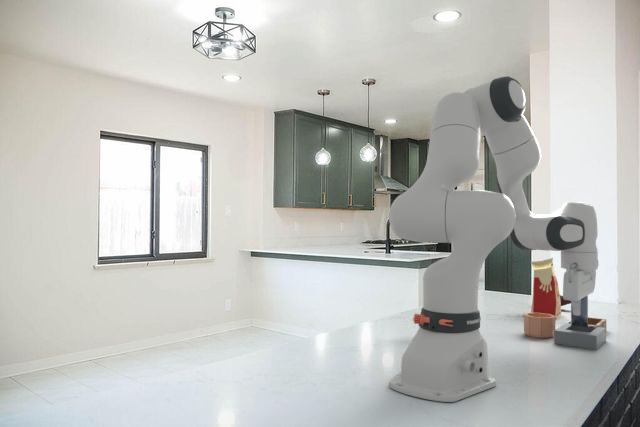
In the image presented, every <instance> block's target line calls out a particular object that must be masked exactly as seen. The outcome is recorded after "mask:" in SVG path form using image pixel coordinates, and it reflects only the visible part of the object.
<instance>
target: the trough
mask: <svg viewBox="0 0 640 427" xmlns="http://www.w3.org/2000/svg"><path fill="white" fill-rule="evenodd" d="M568 323H569V324H571V320H570V321H569V322H568ZM588 325H594V326H597V327H602V328H606V329H607V319H606V318H597V317H590V316H588Z"/></svg>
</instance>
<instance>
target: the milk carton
mask: <svg viewBox="0 0 640 427" xmlns="http://www.w3.org/2000/svg"><path fill="white" fill-rule="evenodd" d="M553 261H554V257H551V258H548V259H544V260H537V261H530V264H531V266H532V268H533V281H532V283H533V288H532V300H531V309H530V313H545V314H551V315H554V316H555V320H558V319H559V318H560V317H561V316H562V306H561V300H560V295H561V294H560V289H559V284H558V279H557V274H556V271H555V267H554V265H553Z"/></svg>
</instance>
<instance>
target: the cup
mask: <svg viewBox="0 0 640 427" xmlns="http://www.w3.org/2000/svg"><path fill="white" fill-rule="evenodd" d="M554 330H556V319H555V316H554V315H551V314H545V313H531V312H526V313H524V314H523V333H524V335H525V336H527V337H531V338H539V339H550V338H551V339H552V338H554Z"/></svg>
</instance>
